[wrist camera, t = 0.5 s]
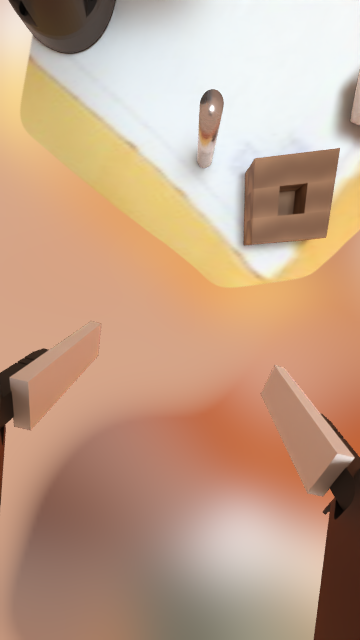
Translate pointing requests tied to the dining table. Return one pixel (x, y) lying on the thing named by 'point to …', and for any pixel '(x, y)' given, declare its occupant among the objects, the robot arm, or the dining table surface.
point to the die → (356, 105)
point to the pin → (208, 126)
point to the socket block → (289, 197)
